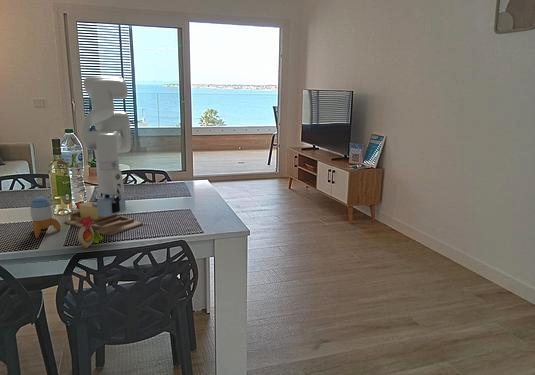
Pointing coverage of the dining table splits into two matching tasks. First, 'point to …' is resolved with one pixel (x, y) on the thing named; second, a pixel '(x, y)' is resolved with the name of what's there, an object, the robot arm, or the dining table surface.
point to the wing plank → (109, 206)
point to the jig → (106, 223)
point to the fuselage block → (89, 210)
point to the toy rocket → (42, 215)
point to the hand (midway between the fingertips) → (112, 210)
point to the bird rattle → (87, 233)
